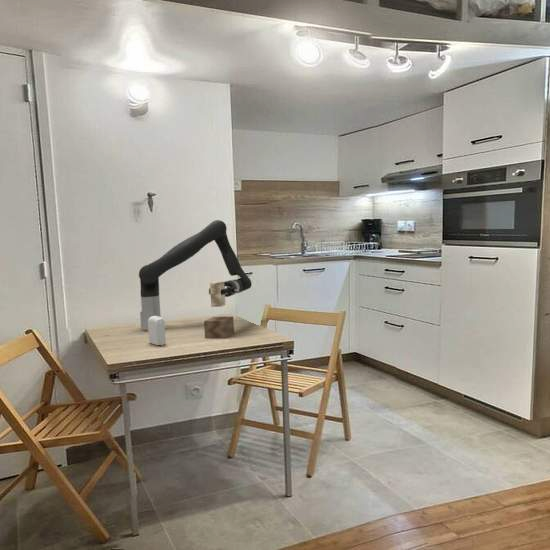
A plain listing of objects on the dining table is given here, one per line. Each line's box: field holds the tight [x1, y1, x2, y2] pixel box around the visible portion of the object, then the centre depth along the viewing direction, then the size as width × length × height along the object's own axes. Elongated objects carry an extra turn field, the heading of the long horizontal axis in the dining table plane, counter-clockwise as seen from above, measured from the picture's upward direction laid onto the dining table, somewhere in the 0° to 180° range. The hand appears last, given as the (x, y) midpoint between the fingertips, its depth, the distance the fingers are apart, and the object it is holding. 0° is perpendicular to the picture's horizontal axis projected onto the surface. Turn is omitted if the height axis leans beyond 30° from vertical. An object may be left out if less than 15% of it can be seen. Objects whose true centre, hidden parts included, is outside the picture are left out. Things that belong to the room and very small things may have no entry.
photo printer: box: [148, 316, 167, 346], centre depth 204 cm, size 10×4×12 cm, turn 39°
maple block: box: [209, 281, 226, 308], centre depth 216 cm, size 5×5×11 cm
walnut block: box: [203, 316, 235, 339], centre depth 217 cm, size 10×12×8 cm
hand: (215, 292), depth 214 cm, fingers closed on maple block, 5 cm apart
